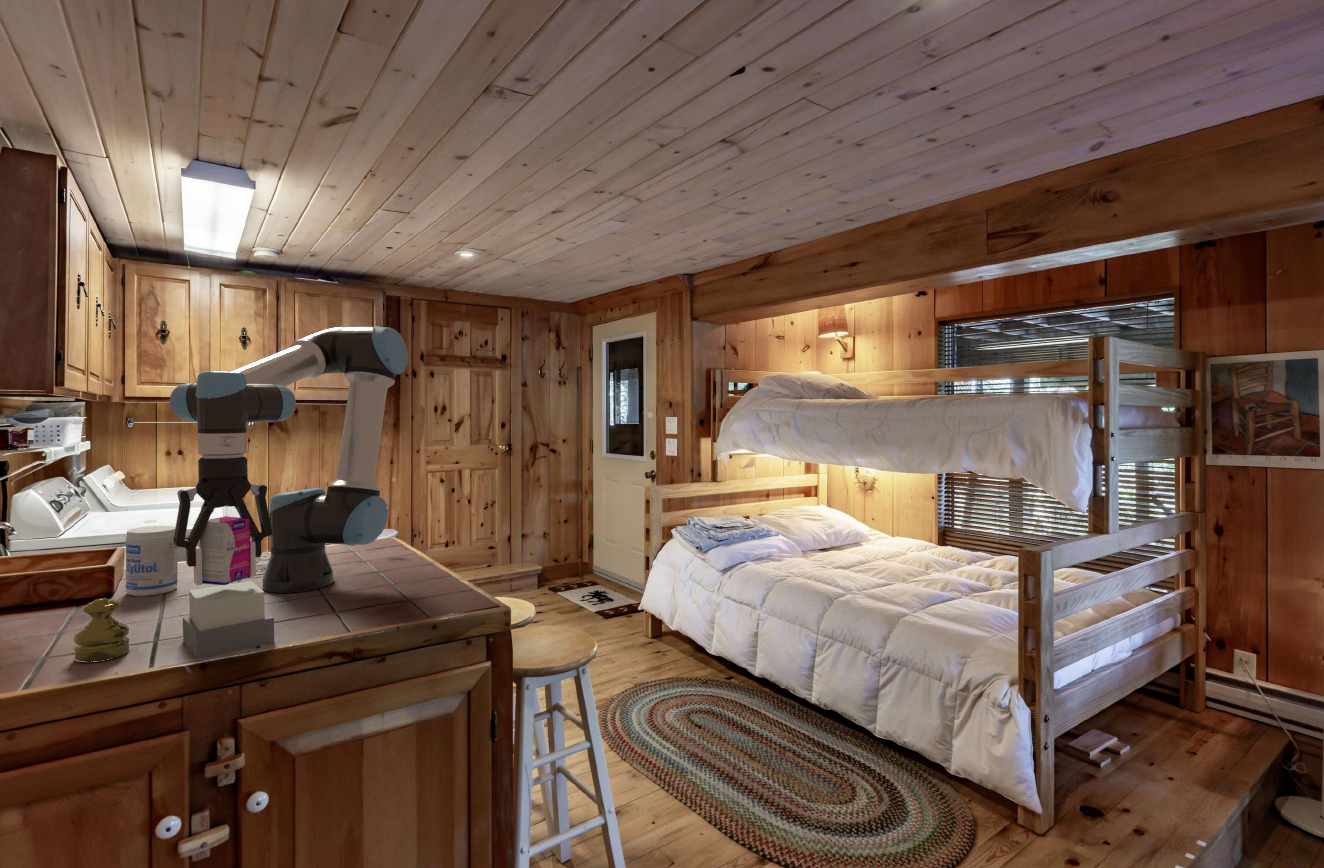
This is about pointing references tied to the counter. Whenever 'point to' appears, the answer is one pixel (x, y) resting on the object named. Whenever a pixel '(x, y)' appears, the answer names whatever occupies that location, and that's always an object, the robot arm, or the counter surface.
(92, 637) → the olive coiled snake figurine
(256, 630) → the tower base
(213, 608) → the tower top
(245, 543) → the supplement box
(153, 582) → the supplement tub
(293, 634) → the counter surface
